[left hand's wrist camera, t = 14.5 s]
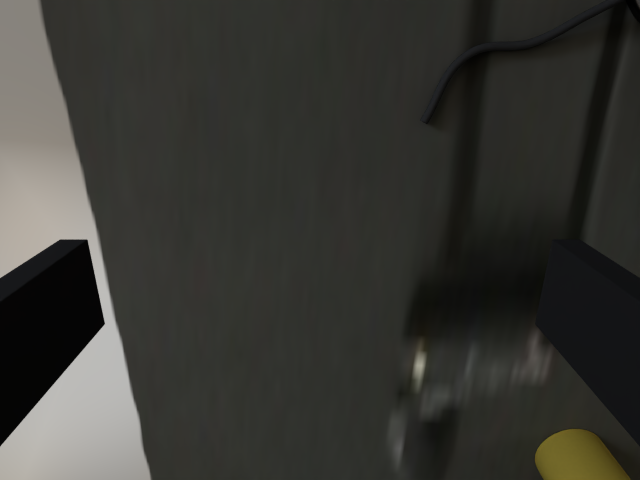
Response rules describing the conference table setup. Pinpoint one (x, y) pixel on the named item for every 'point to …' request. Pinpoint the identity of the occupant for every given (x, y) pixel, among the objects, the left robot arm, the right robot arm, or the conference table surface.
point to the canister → (577, 458)
